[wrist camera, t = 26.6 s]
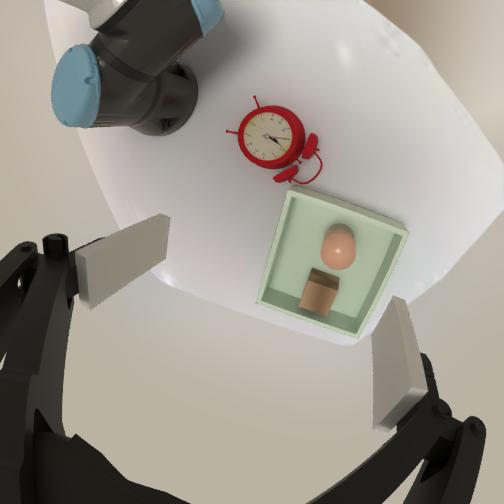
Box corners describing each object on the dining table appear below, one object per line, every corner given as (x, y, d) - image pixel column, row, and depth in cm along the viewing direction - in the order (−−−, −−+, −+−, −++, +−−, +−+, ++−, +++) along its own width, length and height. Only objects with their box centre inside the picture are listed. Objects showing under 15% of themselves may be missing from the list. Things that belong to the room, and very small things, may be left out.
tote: (264, 287, 52) (255, 302, 47) (294, 184, 44) (287, 189, 39) (358, 321, 49) (358, 339, 44) (402, 223, 41) (409, 232, 36)
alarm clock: (256, 85, 37) (332, 146, 34) (273, 97, 42) (340, 153, 40) (216, 137, 42) (282, 201, 39) (236, 143, 47) (296, 201, 44)
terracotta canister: (320, 247, 46) (315, 263, 40) (329, 219, 44) (327, 231, 37) (348, 257, 45) (348, 275, 39) (358, 229, 43) (361, 243, 36)
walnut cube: (303, 291, 49) (298, 306, 45) (312, 267, 47) (308, 280, 43) (329, 301, 48) (326, 316, 44) (339, 277, 46) (338, 290, 42)
